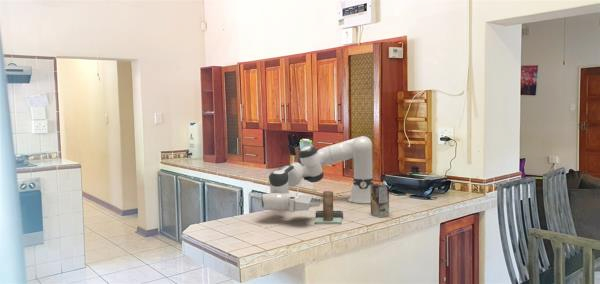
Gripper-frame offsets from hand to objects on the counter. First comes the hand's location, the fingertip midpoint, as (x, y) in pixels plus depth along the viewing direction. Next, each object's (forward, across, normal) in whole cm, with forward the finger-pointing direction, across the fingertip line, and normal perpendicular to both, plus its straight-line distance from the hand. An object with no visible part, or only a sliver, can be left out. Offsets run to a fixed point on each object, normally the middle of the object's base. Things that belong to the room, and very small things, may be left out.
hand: (320, 202), depth 229 cm
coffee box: (+30, -16, -10) cm, 35 cm away
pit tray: (+4, -10, -10) cm, 14 cm away
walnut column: (+4, 0, -9) cm, 10 cm away
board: (+4, 0, -10) cm, 11 cm away
